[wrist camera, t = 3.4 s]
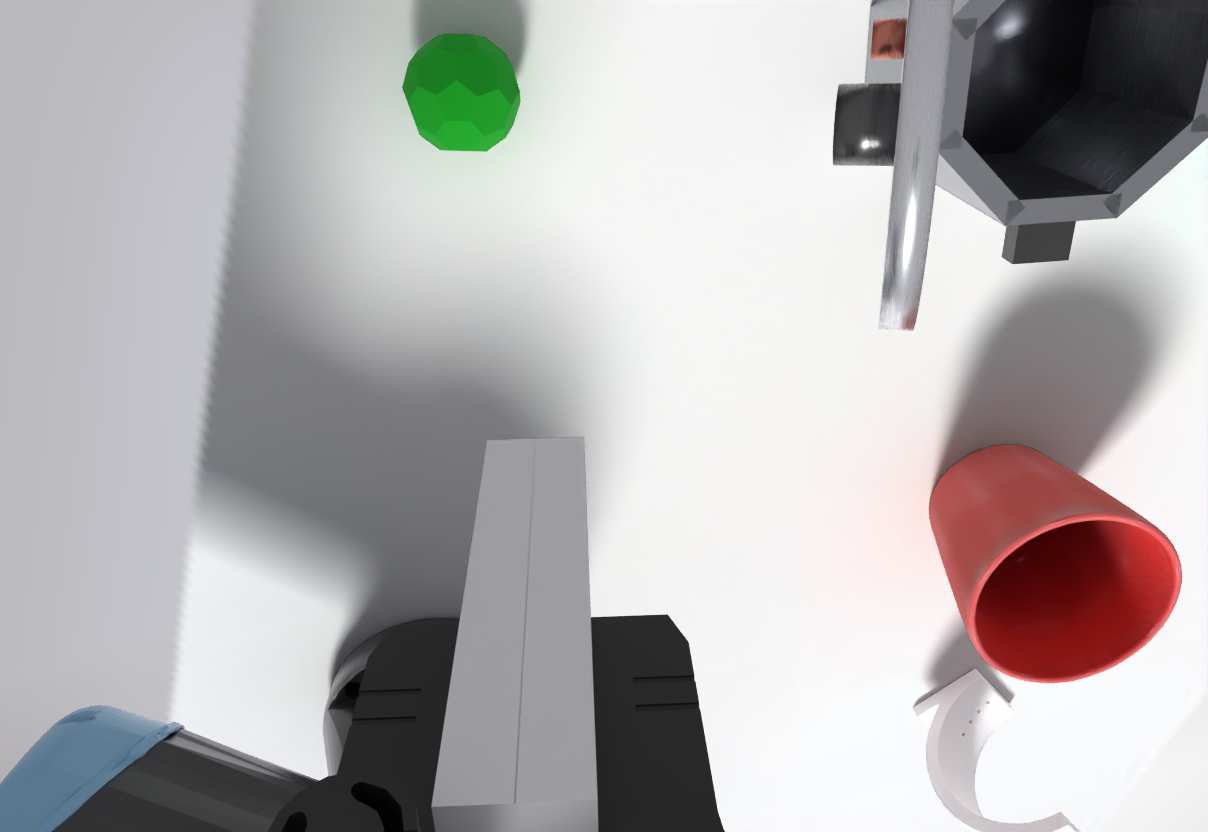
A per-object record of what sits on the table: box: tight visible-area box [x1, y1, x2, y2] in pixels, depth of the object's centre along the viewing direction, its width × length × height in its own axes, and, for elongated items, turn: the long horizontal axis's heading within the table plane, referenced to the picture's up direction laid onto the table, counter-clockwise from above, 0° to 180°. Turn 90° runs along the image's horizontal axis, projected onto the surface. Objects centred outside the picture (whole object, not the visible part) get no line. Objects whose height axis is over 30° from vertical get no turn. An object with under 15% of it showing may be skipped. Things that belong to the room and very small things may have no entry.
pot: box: [865, 0, 1208, 264], centre depth 37 cm, size 11×15×9 cm
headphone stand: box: [913, 668, 1080, 832], centre depth 56 cm, size 5×6×12 cm
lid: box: [833, 0, 954, 331], centre depth 28 cm, size 13×12×3 cm
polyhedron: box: [402, 34, 520, 151], centre depth 39 cm, size 5×5×5 cm
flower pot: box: [929, 444, 1182, 683], centre depth 49 cm, size 11×11×10 cm
